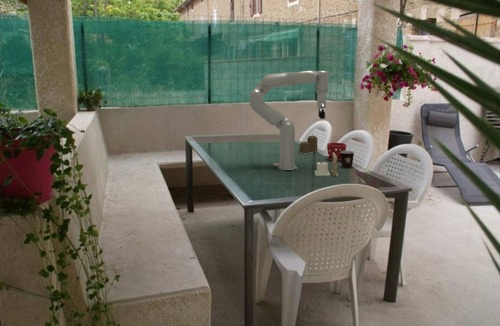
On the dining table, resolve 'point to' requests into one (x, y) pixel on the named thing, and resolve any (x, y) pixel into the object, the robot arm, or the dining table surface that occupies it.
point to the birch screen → (334, 165)
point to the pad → (322, 174)
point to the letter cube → (322, 168)
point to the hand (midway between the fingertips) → (321, 117)
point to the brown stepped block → (309, 145)
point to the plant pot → (332, 148)
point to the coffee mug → (346, 158)
